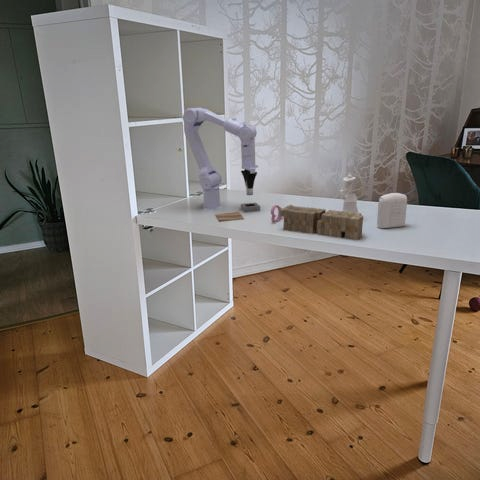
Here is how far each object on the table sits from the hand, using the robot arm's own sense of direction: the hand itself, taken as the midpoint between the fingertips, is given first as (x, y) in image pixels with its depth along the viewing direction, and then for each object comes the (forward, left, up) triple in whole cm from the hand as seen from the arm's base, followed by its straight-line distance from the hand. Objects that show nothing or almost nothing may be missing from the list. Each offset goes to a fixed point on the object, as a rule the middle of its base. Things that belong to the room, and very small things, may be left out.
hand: (249, 187), depth 185 cm
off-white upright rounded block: (+41, +43, -10) cm, 60 cm away
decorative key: (+16, +12, -11) cm, 22 cm away
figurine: (+26, +34, -10) cm, 44 cm away
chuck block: (0, 0, -10) cm, 10 cm away
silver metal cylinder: (0, 0, -3) cm, 3 cm away
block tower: (+38, +17, -11) cm, 43 cm away
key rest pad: (+9, -11, -10) cm, 17 cm away
